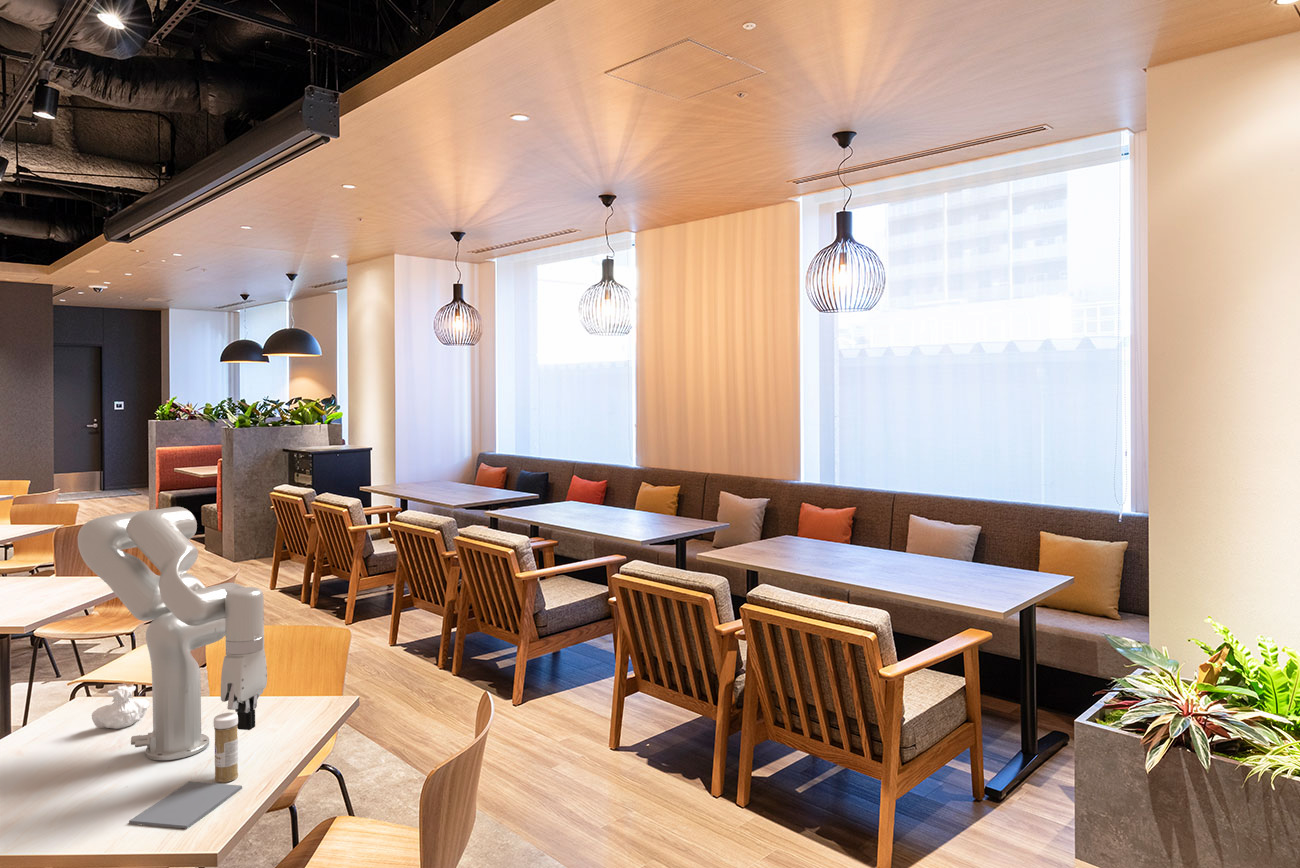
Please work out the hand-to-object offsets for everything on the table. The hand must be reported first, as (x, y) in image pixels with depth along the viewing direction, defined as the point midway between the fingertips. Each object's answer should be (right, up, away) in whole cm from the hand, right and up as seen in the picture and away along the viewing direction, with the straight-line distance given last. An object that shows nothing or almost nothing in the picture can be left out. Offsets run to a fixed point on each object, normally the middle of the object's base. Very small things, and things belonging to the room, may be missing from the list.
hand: (246, 728), depth 177 cm
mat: (-3, -9, -18) cm, 20 cm away
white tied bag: (-41, -7, +21) cm, 46 cm away
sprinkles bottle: (-1, -9, -6) cm, 11 cm away
